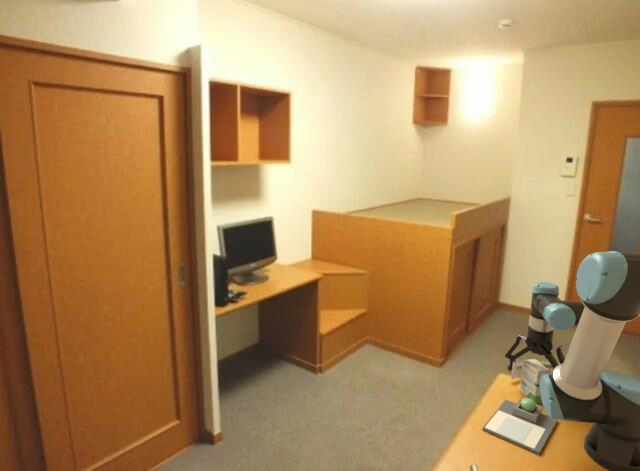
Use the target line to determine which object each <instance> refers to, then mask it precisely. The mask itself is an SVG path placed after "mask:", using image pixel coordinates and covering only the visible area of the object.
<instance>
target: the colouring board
mask: <svg viewBox="0 0 640 471" xmlns="http://www.w3.org/2000/svg"><path fill="white" fill-rule="evenodd" d="M522 399H523V398H519V399H518V400H517V401H516V402H514V401H511V400H509V399H504V401H503V402H502V403H501V404H500V405H499V407H498V408H497V409H496V410H495V412H494V413H493V414H492V415H491V416H490V418H489V419H488V421H486V423H485V424H484V425H483V426H482V431H483V432H486V433H488V434H490V435H493V436H495V437H497V438H499V439H502V440H504V441H506V442H509V443H511V444H513V445H515V446H518V447H520V448H522V449H524V450H527V451H530V452H531V453H534V454H536V455H538V456H540V454H541V453H542V451H543V449H544V447H545V446H546V443H547V441H548V440H549V438H550V436H551V434H552V432H553V431H554V429H555V427H556V425H557V424H558V420H559V419H553V418H551V417H549V416H548V415H547V414H545V413H543V409H544V407H543V405H542V406H541V405H539V404H537V403H536V404H535V412H533V413H530V412H528V411H525V410H523V409H521V401H522Z"/></svg>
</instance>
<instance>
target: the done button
mask: <svg viewBox="0 0 640 471" xmlns="http://www.w3.org/2000/svg"><path fill="white" fill-rule="evenodd" d="M521 399H522V401H521V409H523V410H525V411H528V412H530V413H533V412H535V404H536V405H537V403H535V401H533V400H532V399H530V398H528V397H523V398H521Z"/></svg>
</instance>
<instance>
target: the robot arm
mask: <svg viewBox="0 0 640 471" xmlns="http://www.w3.org/2000/svg"><path fill="white" fill-rule="evenodd" d="M532 286H533V287H532V292H531V294H532V295H531V301H530V302H531V303H530V311H529V319H528V327H527V334H526V337H525V336H523V334H518V336H516V338H515V339H516V340H515V342H514V344H513V345H511V347H510V348H509V350H508V351H507V352H506V353H505V355H504V357H505V358H506V359H508V360H509V369H510V370H511V376H510V379H511V380H514V379H515V378H516V377H517V370H518V368H517V367H518V361H519V360H518V358H520V357H522V356H524V354H526V353H529V352H531V353H532V354H537V355H539V356H544V357H545V359H546V360H547V361H548V362H549V364H550V365H551V367H552V368H553V371H552V374H550V375H549V374H545V375H542V376H541V378H540V394H541V399H542V402H541V403H542V407H543V409H544V411H545V413H546V415H548V416H549V417H551V418H553V419H558V420H560V421H562V422H564V421H565V422H566V421H568V422H579V423H591V424H593V425H592V426H591V427H590V429H589V431H588V432H587V434H586V435H585V436H584V437H585V438H584V443H583V447H584V451H585V452H586V455H588V456H589V457H590V458H591V459H592V460H593V461H595V463H596V464H599V465H600V466H601V467H603V468H606V469H608V470H610V471H640V379H637V378H635V377H634V376H631V375H629V374H626V373H622V372H617V371H614V370H609V371H608V370H607V371H605V368H606V366H607V364H608V362H609V360H610V357H611V355H612V354H613V351H614V350H615V349H614V348H615V347H616V345H617V342H618V340H619V338H620V336H621V334H622V332H623V330H624V327H625V325H626V323H628V322H632V321H634V320H636V319H637V318H639V317H640V253H638V252H620V251H616V250H615V251H614V250H610V251H596V252H592V253H590V254H588V255H587V256H586V257H584V259H583V260H582V261H581V263H580V264H579V267H578V269H577V272H576V281H575V289H576V294H577V295H578V297H579V299H580V300H581V301H577V300H576V301H575V300H573V301H572V300H562V299H560V298H559V295H560V291H559V290H560V289H559V288H560V287H559V286H558V285H557V284H555V283H553V282H549V281H548V282H547V281H539V282H535V283H534V284H533V285H532ZM572 327H576V329H575V332H574V334H573V337H572V340H571V341H570V344H569V347H568V350H567V353H566V355H565V356H564V353H563V352H564V351H563V349H564V348H563V345H553V340H554V330H558V331H565V330H569V329H571V328H572ZM523 343H525V344H526V346H525V347H524V348H522V349H521V350H519V351H518V352H516V353H514V351H515V350H516V349H517V348H518V346H519V345H520V344H523ZM552 351H554V353H555V354H556V357H557V360H558V361H557V360H556V358H555V356H554V355H553V352H552ZM513 353H514V354H513Z"/></svg>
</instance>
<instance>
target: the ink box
mask: <svg viewBox="0 0 640 471" xmlns="http://www.w3.org/2000/svg"><path fill="white" fill-rule="evenodd" d="M521 366H522V368H521V375H520V386H519V390H520V391H521V392H522V393H523V394H524V395H525V396H526V398H529V399H532V400H533V401H535V403H536V404H541V403H542V399H541V394H540V378H541V376H542V375H545V374H549V375H551V369H549V368H547V367H546V366H544V365H543V364H542V363H541V362H540V361H538V360H537V359H536V358H534V359H532V358H531V359H523V360H522V365H521Z"/></svg>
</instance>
